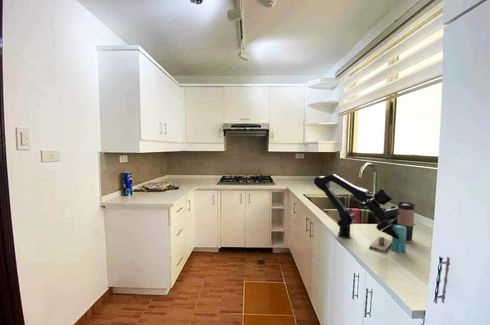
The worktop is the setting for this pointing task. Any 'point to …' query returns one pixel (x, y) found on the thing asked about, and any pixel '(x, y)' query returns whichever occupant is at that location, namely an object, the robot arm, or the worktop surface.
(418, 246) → the worktop surface
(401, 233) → the teal cap
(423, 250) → the worktop surface
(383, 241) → the brown block with knob
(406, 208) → the travel mug
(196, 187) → the worktop surface
